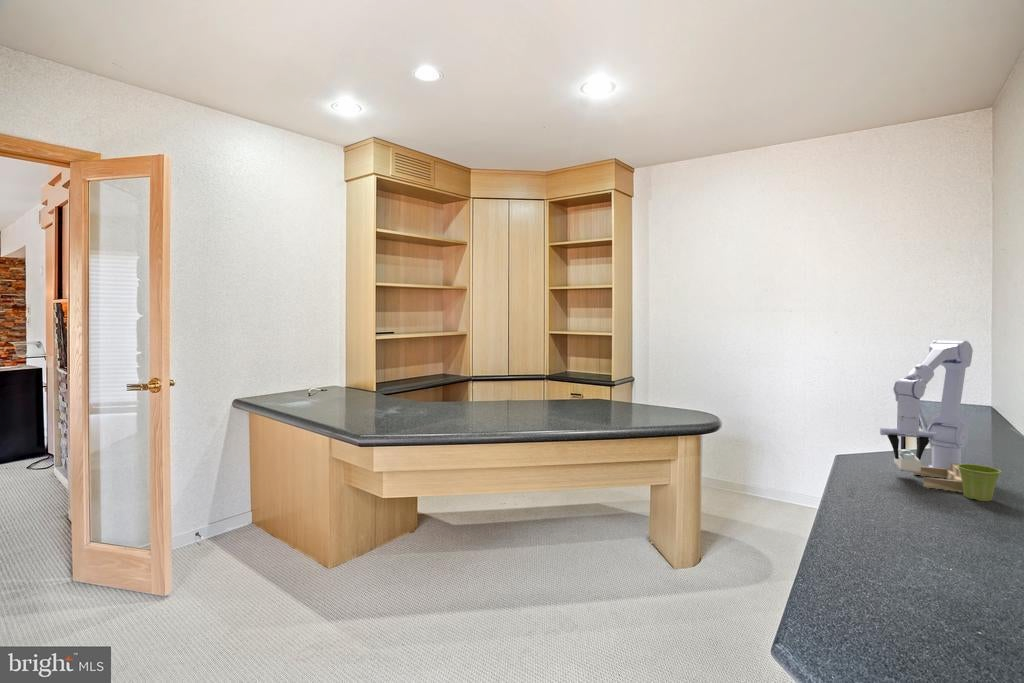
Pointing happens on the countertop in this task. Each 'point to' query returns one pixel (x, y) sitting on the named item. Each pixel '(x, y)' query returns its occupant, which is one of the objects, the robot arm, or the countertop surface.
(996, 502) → the countertop surface
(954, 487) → the light wooden angled piece
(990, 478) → the plant pot
